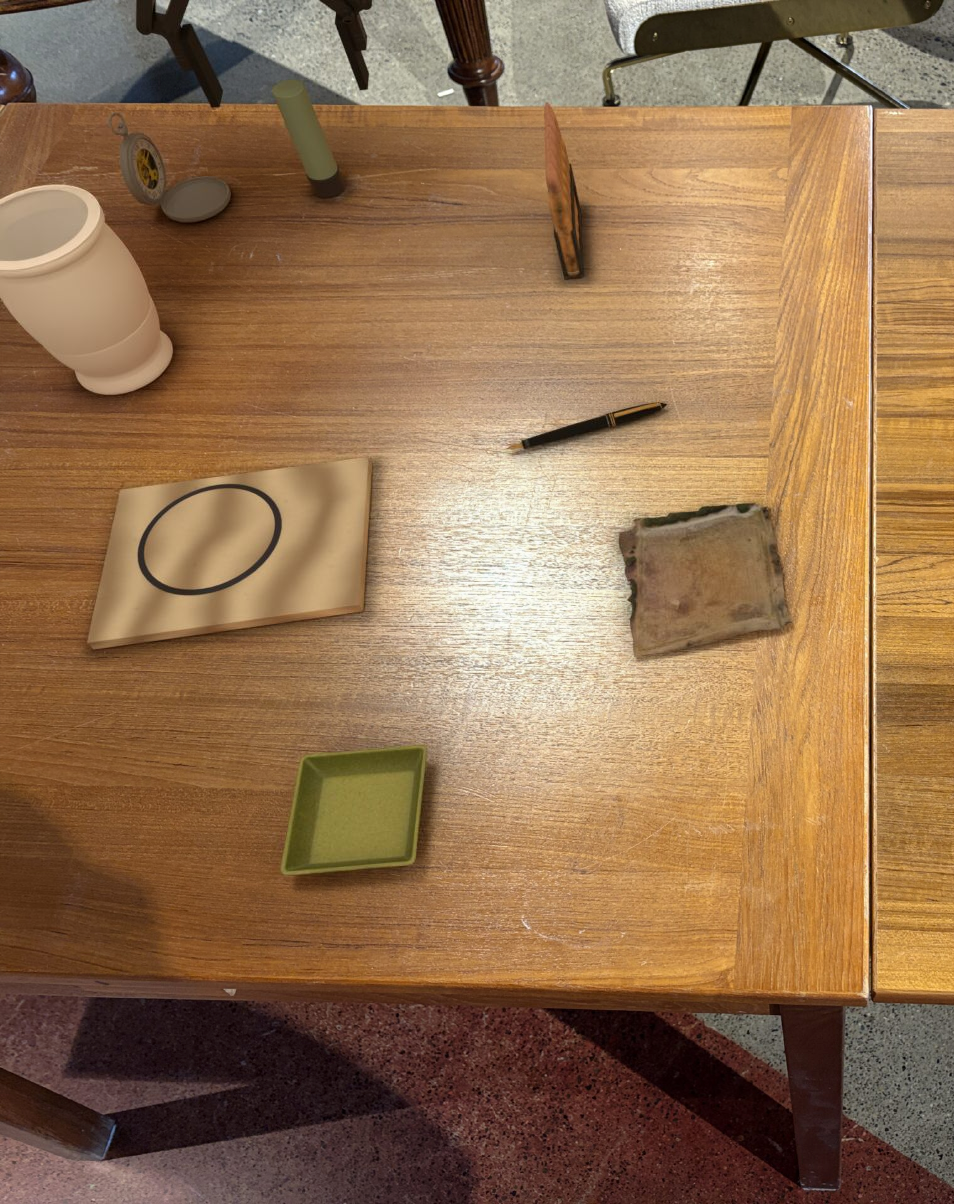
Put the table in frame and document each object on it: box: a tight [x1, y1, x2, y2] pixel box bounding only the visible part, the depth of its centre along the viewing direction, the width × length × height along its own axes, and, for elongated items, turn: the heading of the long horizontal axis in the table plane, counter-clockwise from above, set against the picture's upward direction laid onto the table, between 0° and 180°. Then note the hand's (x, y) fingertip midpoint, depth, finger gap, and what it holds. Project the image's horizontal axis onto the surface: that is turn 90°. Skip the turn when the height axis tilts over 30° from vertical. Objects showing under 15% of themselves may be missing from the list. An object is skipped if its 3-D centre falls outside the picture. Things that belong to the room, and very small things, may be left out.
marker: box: [271, 78, 346, 199], centre depth 113 cm, size 3×3×11 cm
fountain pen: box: [503, 401, 668, 451], centre depth 98 cm, size 14×1×2 cm, turn 111°
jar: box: [0, 184, 174, 396], centre depth 98 cm, size 11×10×15 cm
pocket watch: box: [108, 112, 232, 223], centre depth 113 cm, size 8×8×10 cm
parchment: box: [618, 502, 793, 657], centre depth 89 cm, size 12×13×1 cm
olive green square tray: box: [279, 744, 428, 876], centre depth 78 cm, size 9×9×2 cm
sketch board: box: [86, 456, 373, 650], centre depth 91 cm, size 20×15×1 cm
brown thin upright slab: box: [543, 101, 585, 280], centre depth 107 cm, size 11×2×12 cm, turn 8°
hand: (291, 91), depth 109 cm, fingers open, 13 cm apart
